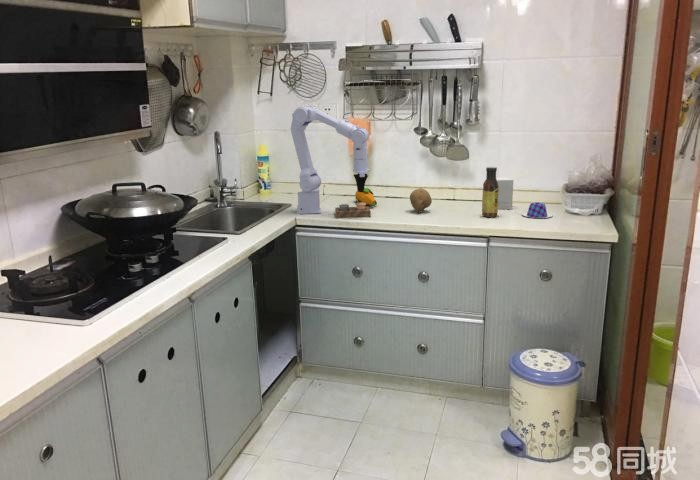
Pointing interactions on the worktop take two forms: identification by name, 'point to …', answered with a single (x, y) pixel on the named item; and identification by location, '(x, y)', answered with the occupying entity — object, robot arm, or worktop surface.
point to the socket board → (352, 213)
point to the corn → (365, 197)
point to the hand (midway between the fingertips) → (360, 191)
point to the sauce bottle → (490, 194)
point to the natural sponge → (420, 199)
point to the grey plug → (344, 207)
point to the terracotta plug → (360, 206)
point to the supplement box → (505, 192)
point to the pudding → (537, 211)
